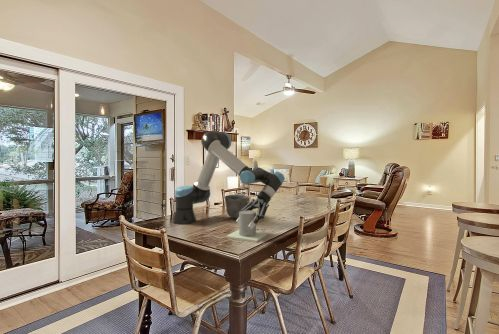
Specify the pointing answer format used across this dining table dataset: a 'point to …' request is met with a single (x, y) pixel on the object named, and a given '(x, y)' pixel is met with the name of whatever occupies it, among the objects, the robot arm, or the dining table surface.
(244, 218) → the light grey cylinder
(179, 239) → the dining table surface
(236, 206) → the grey round pot
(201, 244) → the dining table surface
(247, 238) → the sage placemat
